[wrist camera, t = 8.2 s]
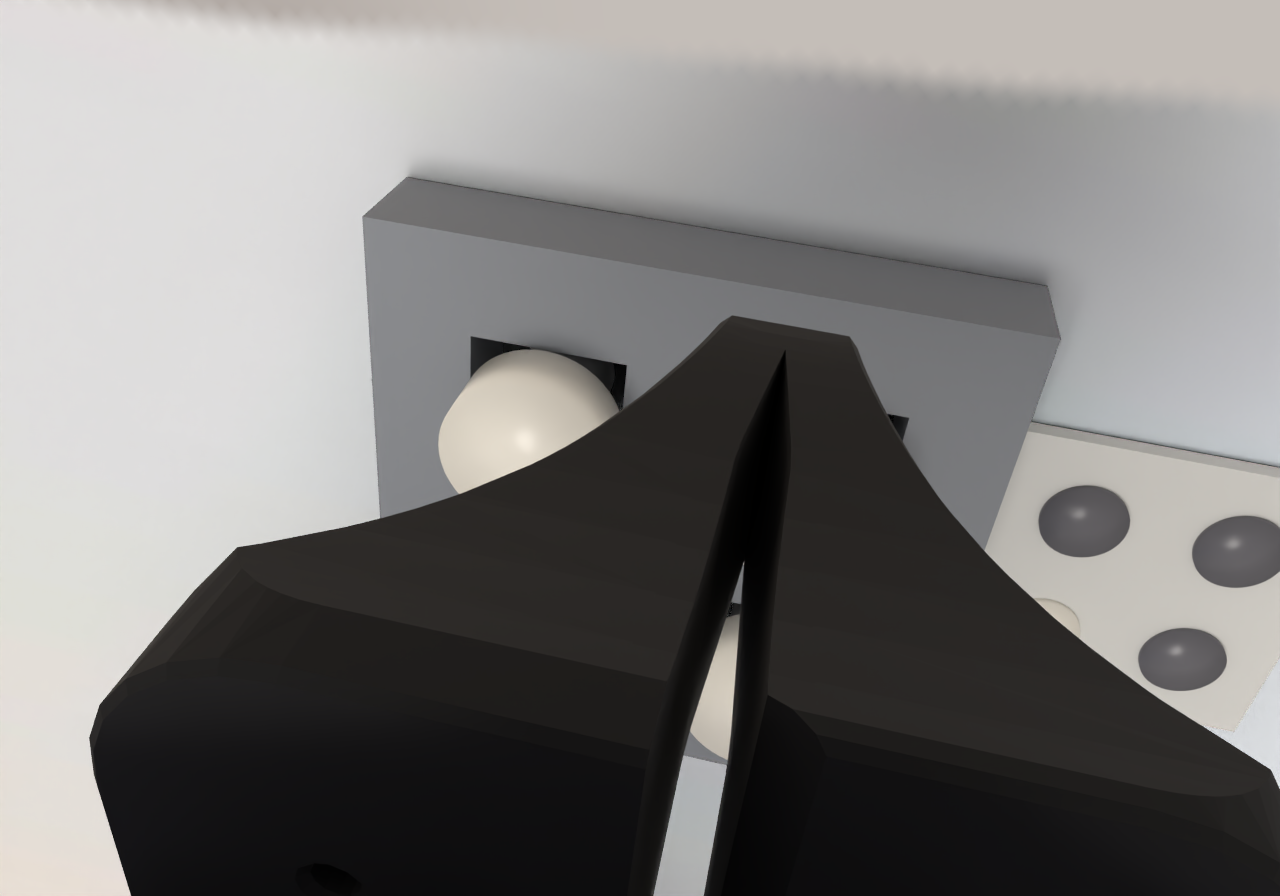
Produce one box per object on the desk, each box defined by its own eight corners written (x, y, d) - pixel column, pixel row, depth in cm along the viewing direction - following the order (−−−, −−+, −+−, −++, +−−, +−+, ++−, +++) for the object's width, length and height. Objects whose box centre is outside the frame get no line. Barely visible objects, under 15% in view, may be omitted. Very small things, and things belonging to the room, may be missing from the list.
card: (1371, 484, 22) (1381, 500, 21) (1230, 719, 25) (1235, 736, 25) (1016, 419, 22) (1019, 433, 22) (933, 656, 26) (934, 672, 26)
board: (1047, 285, 21) (1060, 338, 19) (894, 734, 28) (893, 803, 26) (406, 177, 22) (362, 216, 20) (421, 630, 30) (390, 688, 28)
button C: (653, 314, 23) (614, 403, 20) (638, 445, 25) (601, 546, 22) (498, 286, 23) (436, 370, 20) (495, 418, 25) (439, 513, 22)
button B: (859, 564, 25) (852, 677, 22) (831, 665, 27) (821, 783, 24) (716, 535, 25) (690, 643, 22) (698, 637, 27) (672, 749, 24)
